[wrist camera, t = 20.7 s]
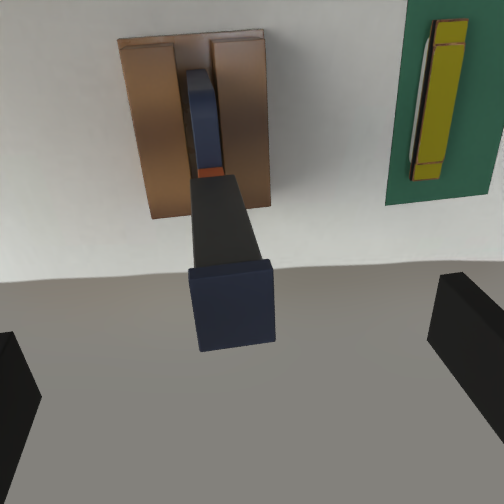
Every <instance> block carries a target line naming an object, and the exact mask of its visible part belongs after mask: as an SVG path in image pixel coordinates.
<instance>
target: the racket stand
mask: <svg viewBox="0 0 504 504" xmlns="http://www.w3.org/2000/svg"><path fill="white" fill-rule="evenodd" d="M117 43H118V48H119V53H120V58H121V64H122V69H123V74H124V79H125V84H126V90H127V95H128V100H129V105H130V110H131V116H132V121H133V126H134V131H135V136H136V142H137V147H138V152H139V157H140V162H141V167H142V173H143V178H144V183H145V188H146V193H147V199H148V204H149V209H150V213H151V218H152V219H160V218H169V217H178V216H187V215H191V198H190V179H193V178H198V169H197V161H196V153H195V145H194V137H193V129H192V121H191V113H190V105H189V96H188V86H187V75H186V70H196V69H206V72H207V74H208V76H209V79H210V81H211V83H212V86H213V88H214V91H215V97H216V105H217V114H218V124H219V135H220V146H221V157H222V167H223V171H224V175H232V174H234V175H235V177H236V180H237V183H238V186H239V189H240V192H241V195H242V198H243V201H244V204H245V208H246V209H251V208H260V207H269V206H271V192H270V164H269V135H268V106H267V78H266V49H265V39H264V30H263V29H251V30H237V31H222V32H207V33H193V34H178V35H164V36H149V37H135V38H120V39H117Z"/></svg>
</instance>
